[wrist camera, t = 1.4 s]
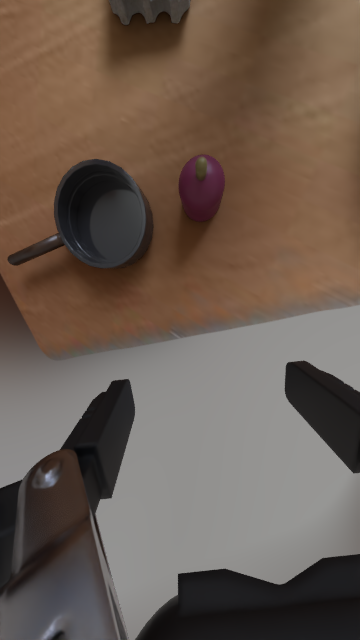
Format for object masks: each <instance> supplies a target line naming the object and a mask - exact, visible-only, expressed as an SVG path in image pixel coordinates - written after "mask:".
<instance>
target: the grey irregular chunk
mask: <svg viewBox="0 0 360 640" xmlns="http://www.w3.org/2000/svg"><path fill="white" fill-rule="evenodd" d="M109 2H110V5H111V8H112V11H113V13H115V14H117V15H118V16H119V18H120V20H121V23H122V24H124V25H128V24H129V23H130V19H131V17H132V15H133V14H135V13H141V14H142V15H143V16H144V17H145V20H146V23H147V24H148V23H150V22H151V23H153V22H155V20H156V17H157V15H158V14H159V13H160V12H163V11H165V12H167V13H169V15H170V16H171V20H172V23H179V22H180V19H181V17H182V15H183V13H184V12H185V11H187V9H188V8H189V7H190V0H109Z"/></svg>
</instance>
